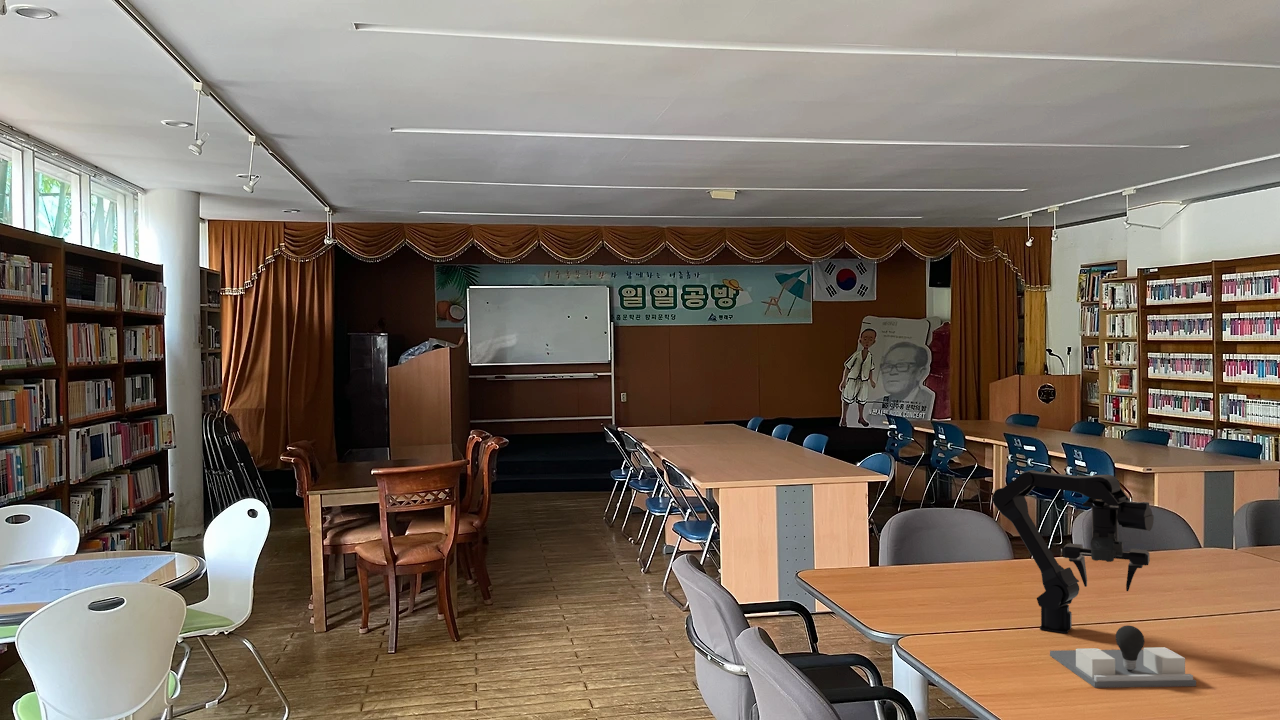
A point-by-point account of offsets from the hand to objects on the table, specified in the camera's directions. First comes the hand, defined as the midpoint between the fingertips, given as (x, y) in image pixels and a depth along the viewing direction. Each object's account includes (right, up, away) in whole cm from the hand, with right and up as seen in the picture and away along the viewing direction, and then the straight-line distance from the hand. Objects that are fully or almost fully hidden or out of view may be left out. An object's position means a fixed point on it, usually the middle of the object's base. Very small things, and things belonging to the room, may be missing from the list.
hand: (1106, 588), depth 220 cm
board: (-8, -13, -20) cm, 25 cm away
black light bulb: (-8, -12, -24) cm, 28 cm away
